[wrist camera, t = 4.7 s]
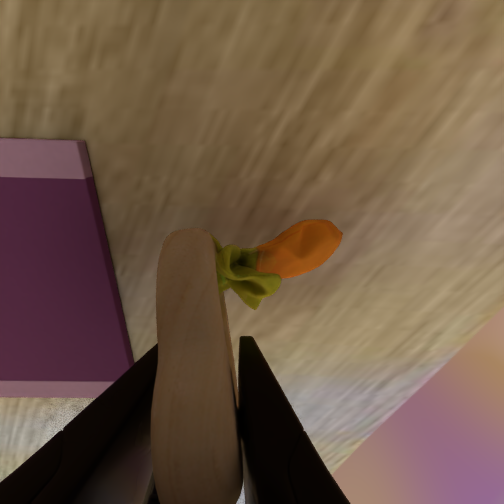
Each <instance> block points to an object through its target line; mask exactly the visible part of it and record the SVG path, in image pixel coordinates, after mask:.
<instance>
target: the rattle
mask: <svg viewBox="0 0 504 504" xmlns="http://www.w3.org/2000/svg"><path fill="white" fill-rule="evenodd" d="M342 235H343V233H342V232H341V231H339V230H338V228H337V227H336V226H335V225H333V223H332V222H330V221H328V220H304V221H301V222H299V223H297V224H295V225H293V226H291V227H290V228H289V229H287V230H286V231H284V232H282V233H281V234H280V235H279V236H277V237H276V238H275V239H273V240H272V241H269V242H267V243H265V244H262V245H259V246H257V247H254V248H242V249H239V247H238V246H236V245H227V246H225V247H224V248H222V246H221V245H220V243H219V242H218V240H217V239H216V238H214V237H213V236H212V235H211V234H210V233H208V232H207V231H206V230H204V229H201V228H189V229H183V230H178V231H175V232H172V233H171V234H170V235H168V236H167V237H166V239H165V241H164V243H163V246H162V249H161V253H160V257H159V262H158V270H157V282H156V319H157V339H158V366H157V373H156V380H155V386H154V393H153V401H152V409H151V456H152V466H153V475H154V480H155V486H156V490H157V494H158V498H159V501H160V504H236V503H237V501H238V499H239V496H240V494H241V490H242V485H243V455H242V444H241V433H240V424H239V415H238V388H237V380H236V371H235V364H234V357H233V350H232V344H231V337H230V331H229V324H228V316H227V310H226V304H225V299H224V293H223V291H225V290H227V289H229V288H230V287H231V288H232V289H233V290H234V291H235V292H236V293H237V294H238V296H239V297H240V298H241V299H242V300H243V302H244V303H245V304H246V305H248V306H249V307H251V308H252V309H254V310H256V309H257V307H258V306H259V304H260V302H261V300H262V299H263V298H265V297H268V296H271V295H272V294H274V293H275V292H276V290H277V289H278V288H279V286H280V284H281V279H282V278H291V277H294V276H298V275H301V274H304V273H306V272H309V271H311V270H313V269H315V268H317V267H319V266H320V265H321V264H323V263H324V262H325V261H326V260H327V259H328V258H329V257H330V256H331V255H332V254H333V253H334V251H335V250H336V249H337V247H338V246H339V244H340V242H341V239H342Z"/></svg>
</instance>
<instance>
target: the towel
mask: <svg viewBox="0 0 504 504" xmlns="http://www.w3.org/2000/svg"><path fill="white" fill-rule="evenodd" d="M133 365H134V361H133V356H132V352H131V347H130V343H129V338H128V334H127V329H126V325H125V320H124V316H123V311H122V307H121V302H120V298H119V293H118V288H117V284H116V279H115V275H114V270H113V266H112V261H111V257H110V252H109V248H108V243H107V239H106V234H105V230H104V225H103V221H102V216H101V212H100V207H99V203H98V198H97V194H96V189H95V185H94V180H93V176H92V171H91V167H90V162H89V158H88V153H87V149H86V144H85V141H83V140H55V139H23V138H0V397H42V398H97V397H98V396H99V395H100V394H102V393H103V392H104V391H105V390H106V389H107V388H108V387H109V386H110V385H112V384H113V383H114V382H115V381H116V380H117V379H118V378H119V377H120V376H122V375H123V374H124V373H125V372H126V371H127V370H128V369H129V368H130V367H131V366H133Z"/></svg>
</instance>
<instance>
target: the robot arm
mask: <svg viewBox="0 0 504 504" xmlns="http://www.w3.org/2000/svg"><path fill="white" fill-rule="evenodd" d="M157 366H158V343H157V344H156V345H155V346H154V347H153V348H151V349H150V350H149V351H148V352H147V353H146V354H145V355H144V356H143V357H141V358H140V359H139V360H138V361H137V362H136V363H135V364H134V365H133V366H131V367H130V368H129V369H128V370H127V371H126V372H125V373H124V374H123V375H122V376H120V377H119V378H118V379H117V380H116V381H115V382H114V383H113V384H112V385H110V386H109V387H108V388H107V389H106V390H105V391H104V392H103V393H102V394H100V395H99V396H98V397H97V398H96V399H95V400H94V401H93V402H92V403H90V404H89V405H88V406H87V407H86V408H85V409H84V410H83V411H82V412H80V413H79V414H78V415H77V416H76V417H75V418H74V419H73V420H72V421H70V422H69V423H68V424H67V425H66V426H65V427H64V428H63V431H62V430H61V431H59V432H58V433H57V434H56V435H55V436H54V437H53V438H51V439H50V440H49V441H48V442H47V443H46V444H45V445H44V446H43V447H41V448H40V449H39V450H38V451H37V452H36V453H35V454H33V455H32V456H31V457H30V458H29V459H28V460H26V461H25V462H24V463H23V464H22V465H21V466H20V467H18V468H17V469H16V470H15V471H14V472H12V473H11V474H10V475H9V476H8V477H6V478H5V479H4V480H3V481H2V482H0V504H160V501H159V498H158V494H157V490H156V486H155V480H154V475H153V466H152V456H151V409H152V401H153V393H154V386H155V380H156V373H157ZM238 415H239V424H240V433H241V444H242V455H243V480H244V493H245V504H350V502H349V501H348V499H347V498H346V496H345V495H344V494H343V492H342V490H341V489H340V488H339V486H338V484H337V483H336V481H335V480H334V478H333V477H332V475H331V474H330V472H329V471H328V469H327V468H326V466H325V464H324V463H323V461H322V459H321V458H320V456H319V454H318V452H317V451H316V449H315V447H314V446H313V444H312V442H311V440H310V439H309V437H308V435H307V433H306V432H305V431H303V430H304V428H303V426H302V424H301V423H300V421H299V419H298V417H297V415H296V414H295V412H294V410H293V408H292V406H291V405H290V403H289V401H288V399H287V397H286V396H285V394H284V392H283V390H282V389H281V387H280V385H279V383H278V381H277V380H276V378H275V376H274V374H273V372H272V371H271V369H270V367H269V365H268V363H267V362H266V360H265V358H264V356H263V354H262V353H261V351H260V349H259V347H258V345H257V344H256V342H255V340H254V338H253V337H252V336H241V337H240V342H239V363H238Z"/></svg>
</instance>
